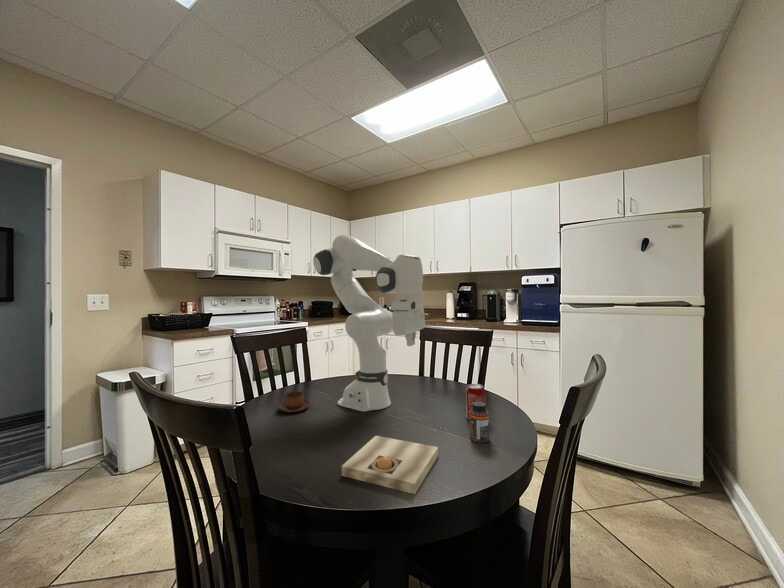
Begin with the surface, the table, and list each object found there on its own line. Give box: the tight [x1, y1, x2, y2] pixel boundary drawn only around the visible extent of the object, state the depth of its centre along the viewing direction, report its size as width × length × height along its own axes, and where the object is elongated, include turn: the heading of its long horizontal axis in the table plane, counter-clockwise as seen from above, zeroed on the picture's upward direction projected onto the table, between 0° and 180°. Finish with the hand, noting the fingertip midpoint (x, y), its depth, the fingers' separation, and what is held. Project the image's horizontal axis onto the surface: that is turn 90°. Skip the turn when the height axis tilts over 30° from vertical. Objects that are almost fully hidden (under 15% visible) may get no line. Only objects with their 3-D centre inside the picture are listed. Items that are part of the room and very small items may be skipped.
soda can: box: [465, 383, 486, 420], centre depth 119 cm, size 7×7×12 cm
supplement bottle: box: [469, 402, 490, 444], centre depth 103 cm, size 6×6×11 cm
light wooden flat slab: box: [341, 435, 439, 495], centre depth 89 cm, size 20×19×2 cm
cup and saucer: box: [278, 391, 310, 413], centre depth 133 cm, size 12×12×6 cm
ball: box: [377, 457, 392, 470], centre depth 85 cm, size 4×4×4 cm
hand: (410, 345), depth 108 cm, fingers closed
